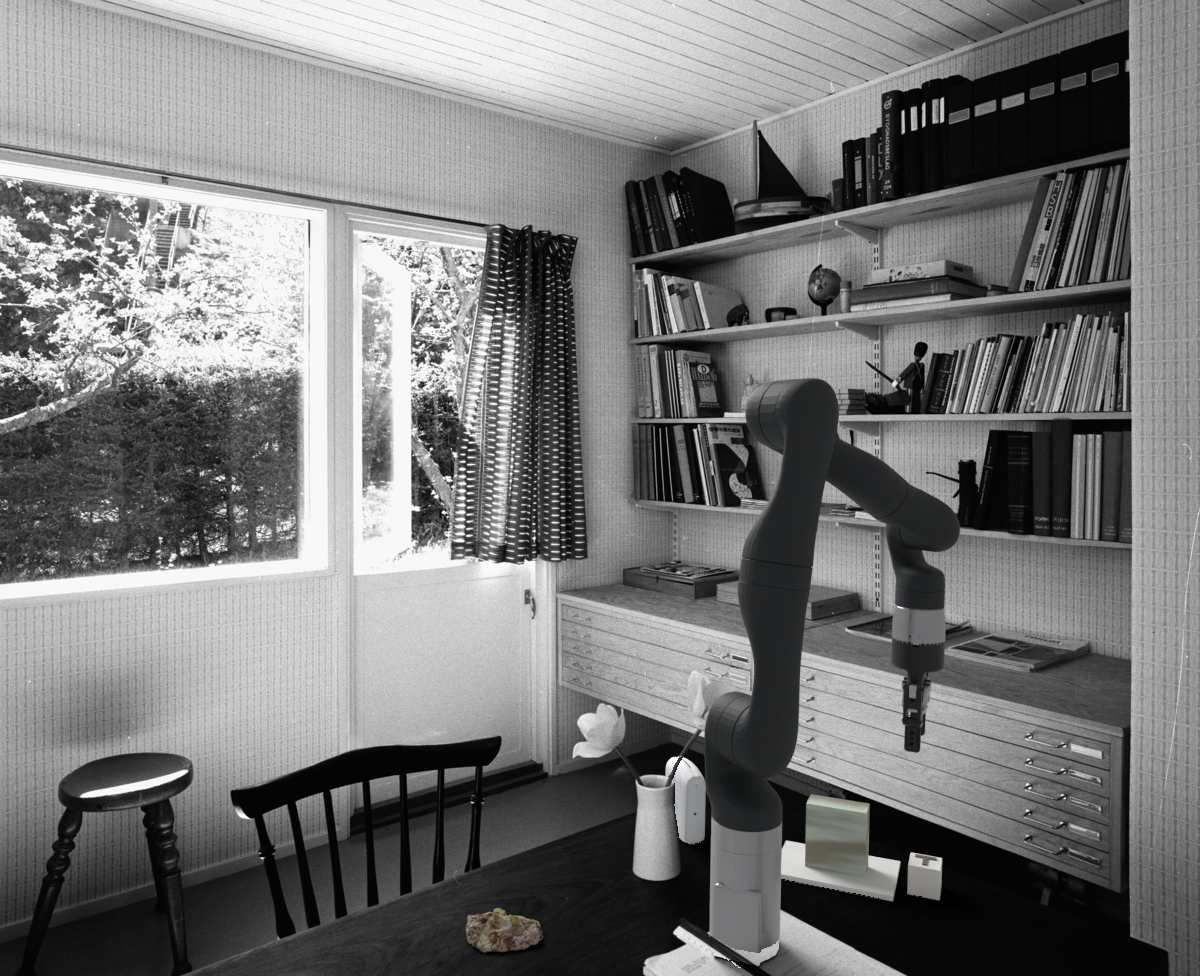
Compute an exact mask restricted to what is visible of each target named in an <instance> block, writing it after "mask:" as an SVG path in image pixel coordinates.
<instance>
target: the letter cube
mask: <svg viewBox="0 0 1200 976" xmlns="http://www.w3.org/2000/svg"><path fill="white" fill-rule="evenodd" d="M942 874H943V857H938V856H932V855H927V854H921V853H916V852H910V854H909V860H908V864H907V892H906V894H907V895H909V896H914V895H915V896H914V897H919V896H922V897H921V898H926V899H930V900H936V901H941V900H940V899H941V892H942Z"/></svg>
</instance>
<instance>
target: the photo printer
mask: <svg viewBox="0 0 1200 976" xmlns="http://www.w3.org/2000/svg"><path fill="white" fill-rule="evenodd" d="M679 757H680V756H677V757H676V756H673V757H670V759H668V761H667V762H666V765H665V778H666V777H668V776H669V775H670V774H671V772H672V770H673V767H674V765H675V763H676V762H677V760H678V758H679ZM682 757H683V756H682ZM673 780H674V783H675V804H674V806H675V814H676V820H677V826H678V833H679V837H678V838H679V839H680V840H681V841H682V842H684V843H686V844H687V843H688V844H689V845H696V844H695V843H698V844H700V843H702V842H701V841H704V840H705V836H706V835H705V834H706V833H705V832H706V828H705V827H706V794H707V791H706V782H705V777H704V776H703V774H702V773H701V771H700V770H699V768H698V767H697V766H696V765H695V764H694V762H693V761H691V760H689V759H688V758H686V757H683V758H682V760H681V761H680V763H679V765H678V767H677V770H676V772H675V775H674V778H673ZM699 842H700V843H699ZM688 844H687V845H688Z"/></svg>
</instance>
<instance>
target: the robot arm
mask: <svg viewBox="0 0 1200 976" xmlns="http://www.w3.org/2000/svg"><path fill="white" fill-rule="evenodd" d="M839 409H840V407H839V401H838V398H837V394H836V392H835V390H834V389H833V386H832V385H831V384H830V383H829V382H827V381H826V380H824V379H821V378H815V377H813V378H812V377H811V378H810V377H808V378H807V377H806V378H805V377H804V378H794V379H780V380H773V381H768V382H765V383H763V384H760V385H758V386H757V387H755V389H754V390H753V391H752V392H751V393H750V394H749V396H748V398H747V401H746V405H745V411H744V414H745V420H746V425H747V427H748V430H749V432H750V434H751V435H752V436H753V438H754V439H755V440H756V441H757V442H759V443H760V444H761V445H763V446H765V447H767V448H768V449H770V450H772V451H774V452H776V453H778V454H780V455H782V459H781V465H780V472H779V475H778V479H777V483H776V486H775V488H774V490H773V493H772V494H771V496H770V498H769V500H768V501H767V503H766V505H765V506H764V508H763V509H762V510H761V512H760V514H759V515H758V517H757V519H756V520H755V521H754V523H753V525H752V526H751V529H750V530H749V533H748V534H747V537H746V538H745V541H744V544H743V548H742V553H741V560H740V567H739V568H740V569H739V574H738V575H739V576H738V580H737V581H738V583H737V584H738V585H737V599H738V600H737V601H738V605H739V606H738V607H739V610H740V614H741V618H742V621H743V624H744V627H745V631H746V634H747V637H748V641H749V644H750V648H751V652H752V659H753V661H752V662H753V681H752V682H753V684H752V690H751V691H752V692H751V694H748V693H746V692H743V691H742V692H741V691H734V690H733V691H729V692H726V693H723V694H721V695H720V696H719V697H717V699H715V701H714V702H713V704H712V706H710V708H709V710H708V711H709V712H708V714H707V716H706V720H705V726H704V734H703V741H704V742H703V743H704V744H703V745H704V747H703V748H704V776H705V777H704V780H705V784H706V794H707V797H708V799H709V802H710V806H711V814H710V815H711V822H710V823H711V829H710V830H711V832H710V834H711V835H710V873H709V874H710V876H709V877H710V879H709V880H710V881H709V882H710V884H709V885H710V886H709V935H710V934H711V935H712V936H713V937H714V938H716V939H718V940H720V941H721V942H723V943H724V944H726V945H728V946H730V947H731V948H734V949H735V950H737V949H738V950H744V951H748V952H755V953H760V952H761V950H762V949H764V948H767V947H770V946H772V945H773V944H776V942H777V941H778V940H779V938H780V939H781V898H782V897H781V895H782V894H781V892H782V890H781V889H782V879H781V854H782V848H783V846H782V843H783V802H782V799H781V797H780V796H779V794H778V792H777V791H776V790H775V789H774V788H773V786H772V785H770V783H769V782H768V780H767V779H771V778H775V777H777V776H779V775H780V774H782V773H783V771H785V770H786V769H787V767H789V765H790V763H791V761H792V758H793V757H794V753H795V751H796V748H797V747H796V746H797V742H798V736H799V723H800V721H799V720H800V696H801V695H800V694H801V693H800V691H801V689H800V685H801V667H802V666H801V665H802V655H803V646H804V645H803V644H804V633H805V623H806V616H807V615H806V614H807V611H808V610H807V609H808V604H809V599H810V598H809V597H810V592H811V585H812V584H811V583H812V579H813V578H812V577H813V570H814V568H813V567H814V559H815V548H816V547H815V546H816V541H817V540H816V539H817V533H818V526H819V520H820V514H821V506H822V500H823V495H824V490H825V485H826V482H827V483H829V484H830V485H831V486H833V487H834V488H836V489H837V490H838V491H839V492H841V493H842V494H844V495H845V496H846V497H847V498H848V499H850V500H851V501H852V502H853V503H855V504H856V505H857V506H858V507H860V508H861V509H863V511H864V512H866V513H867V514H869V516H870V517H872V518H874V519H875V520H877V521H879V522H880V523H883V524H885V537H886V542H887V546H888V547H887V548H888V552H889V555H890V561H891V564H892V565H891V566H892V568H893V569H892V570H893V572H894V577H895V586H894V587H895V588H894V591H895V592H894V610H893V615H892V628H891V632H892V633H891V652H890V653H891V659H890V660H891V661H890V662H891V664H892V666H893V667H895V668H896V669H899V670H903V671H906V672H907V675H906V676H903V680H902V681H901V691H902V699H901V709H902V718H901V722H902V725H903V726H904V739H903V740H904V741H903V742H904V743H903V749H904V751H905V752H909V753H915V754H916V753H919V752H920V751H921V742H922V741H921V740H922V739H921V738H922V736H924V735H925V733H926V717H927V716H926V714H927V711H928V707H929V703H930V700H931V691H932V681H933V680H932V679H930V678H929V677H930V673H931V674H932V673H938V672H941V671H943V669H944V668H945V655H946V654H945V653H946V623H947V622H946V615H945V613H946V612H945V603H946V601H945V599H946V576H945V573H944V572H943V571H942V570H941V569H939V568H937V567H936V566H933V565H932V564H929V563H928V562H927V561H926V559H925V555H924V553H923V551H924V552H931V553H942V552H945V551H948V550H950V549H951V548H953V547H954V546H955V544H956V543H957V542H958V540H959V537H960V534H961V526H960V525H961V524H960V521H959V519H958V516H957V514H956V513H955V511H954V510H953V509H952V508H951V507H950V506H949V505H948V504H947V503H946V502H944V501H942V500H941V499H939V498H937V497H936V496H934V495H932V494H930V493H928V492H927V491H925V490H922V489H920V488H918V487H917V486H916V487H915V486H914V485H911V484H910V483H909V482H908V481H907V480H906V479H905V478H904V477H903V476H902V475H901V474H899V472H897V471H896V470H895V469H894V468H892V467H891V466H890V465H889V464H887V463H886V462H885V461H884V460H882V459H881V458H879V457H877V456H876V455H874V454H872V453H870V452H868V451H866V450H863V449H861V448H859V447H858V446H855V445H854V444H851V443H848V442H847V441H844V440H843V439H840V438H838V437H837V433H838V426H839V419H840V411H839ZM909 713H910V715H909Z"/></svg>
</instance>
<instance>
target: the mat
mask: <svg viewBox="0 0 1200 976" xmlns="http://www.w3.org/2000/svg"><path fill="white" fill-rule="evenodd" d="M900 869H901V861H900V860H895V859H890V858H884V857H877V856H873V855H869V854H868V869H867V872H866V876H865V878H862V877H857V876H852V875H847V874H841V873H836V872H831V871H826V870H821V869H816V868H810V867H805V843H802V842H797V841H791V840H785V841H784V844H783V846H782V854H781V880H782V879H785V880H784V881H787V880H789V881H788V882H792V881H795V882H794V883H797V882H798V884H802V883H803V885H807V884H808V886H812V885H813V887H817V886H818V887H819V888H822V887H824V888H825V889H827V888H829V890H832V889H834V890H835V891H837V890H839V891H838V892H843V891H844V893H848V892H849V893H848V894H853V893H856V894H855V895H858V894H861V895H860V896H863V895H865V896H864V897H868V896H870V897H869V898H873V897H874V898H873V899H878V898H879V899H878V900H883V901H884V900H885V901H889V902H894V898H895V893H896V889H897V884H898V879H899V873H900ZM824 888H823V889H824Z"/></svg>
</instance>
